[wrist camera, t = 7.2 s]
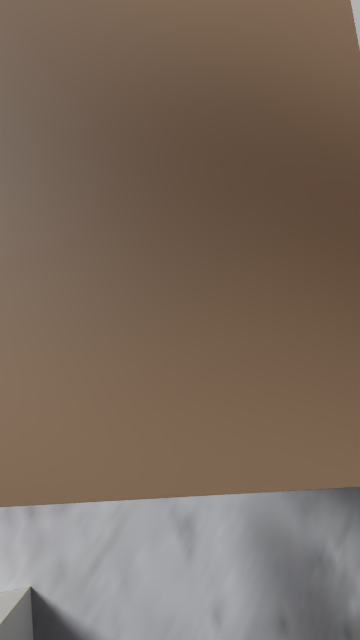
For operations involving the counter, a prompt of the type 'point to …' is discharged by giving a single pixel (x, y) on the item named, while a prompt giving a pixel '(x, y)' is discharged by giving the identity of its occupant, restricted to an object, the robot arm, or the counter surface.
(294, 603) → the counter surface
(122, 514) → the counter surface
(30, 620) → the puzzle toy
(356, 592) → the counter surface
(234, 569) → the counter surface
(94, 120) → the walnut canister
